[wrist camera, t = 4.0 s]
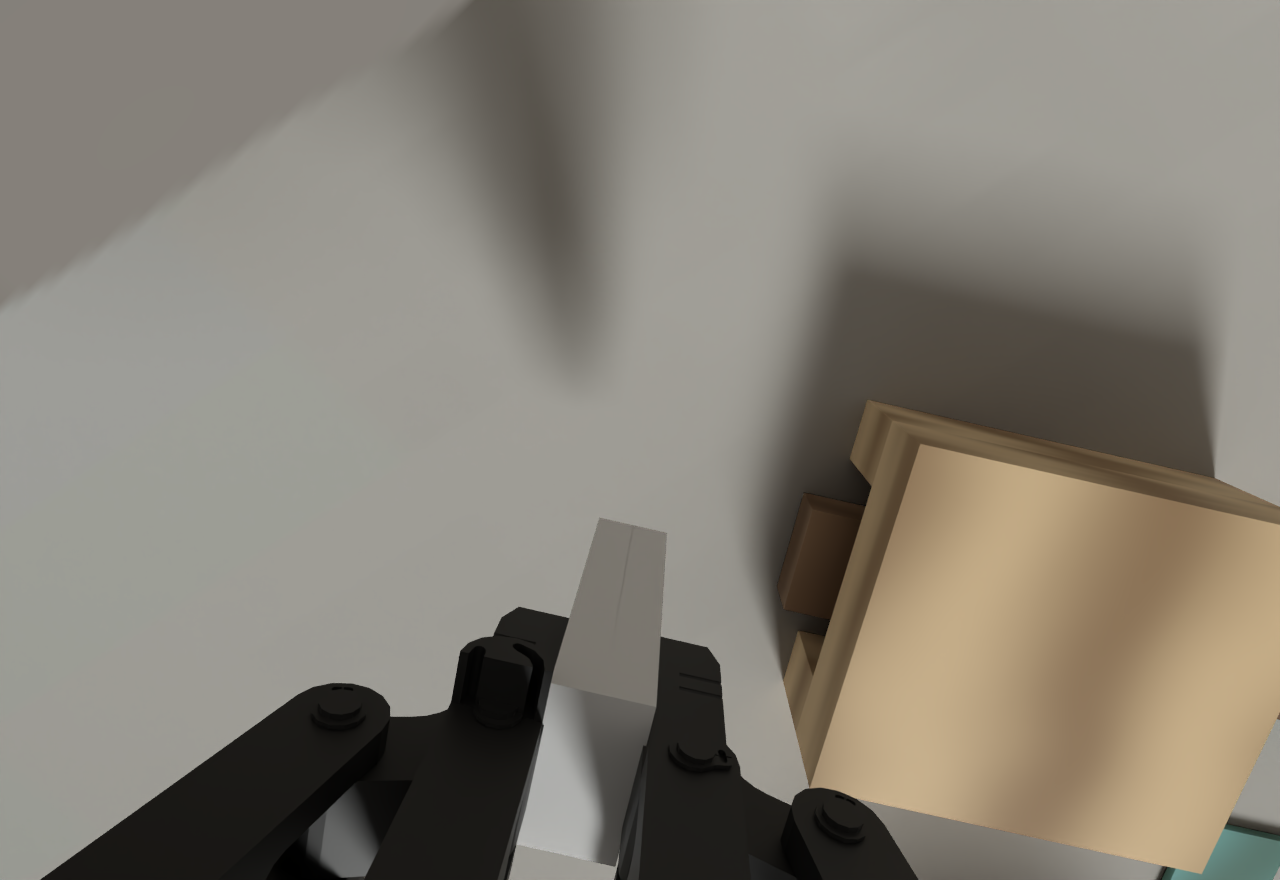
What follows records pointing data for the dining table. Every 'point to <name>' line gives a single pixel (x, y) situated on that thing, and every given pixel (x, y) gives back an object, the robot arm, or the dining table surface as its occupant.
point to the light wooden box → (1045, 641)
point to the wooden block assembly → (812, 588)
